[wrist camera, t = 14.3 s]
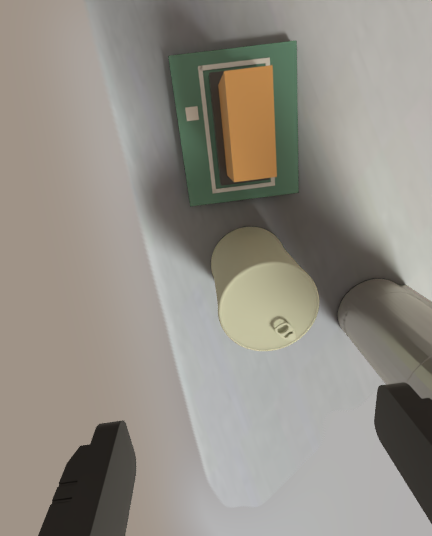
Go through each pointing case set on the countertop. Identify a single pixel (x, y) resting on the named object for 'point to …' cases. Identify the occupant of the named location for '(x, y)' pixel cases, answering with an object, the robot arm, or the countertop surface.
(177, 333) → the countertop surface
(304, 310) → the can
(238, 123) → the block
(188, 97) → the header board
